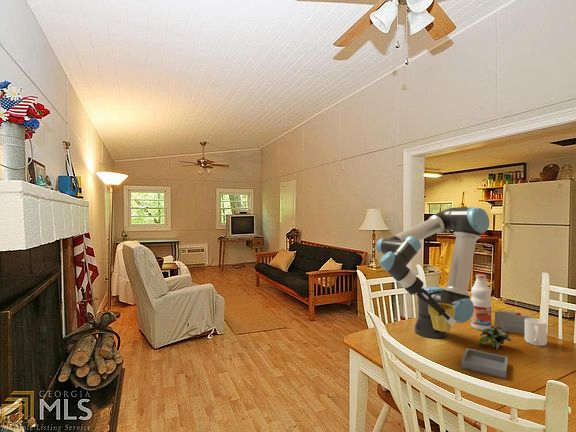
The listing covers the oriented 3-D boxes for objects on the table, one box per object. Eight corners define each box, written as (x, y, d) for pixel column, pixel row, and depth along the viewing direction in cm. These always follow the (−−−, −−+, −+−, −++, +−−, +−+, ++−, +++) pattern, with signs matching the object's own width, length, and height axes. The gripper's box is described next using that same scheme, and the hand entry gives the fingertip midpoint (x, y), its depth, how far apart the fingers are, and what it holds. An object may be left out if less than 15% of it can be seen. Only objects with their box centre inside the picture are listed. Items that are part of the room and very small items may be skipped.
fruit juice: (481, 324, 178) (482, 272, 178) (495, 330, 169) (495, 276, 169) (466, 325, 177) (466, 273, 176) (479, 331, 168) (479, 277, 167)
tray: (461, 368, 128) (461, 360, 128) (466, 355, 140) (466, 348, 140) (505, 379, 120) (505, 371, 120) (507, 364, 132) (507, 356, 131)
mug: (549, 350, 144) (549, 327, 144) (526, 346, 149) (526, 324, 148) (545, 341, 154) (545, 319, 154) (523, 338, 159) (523, 316, 159)
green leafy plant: (496, 356, 151) (513, 336, 150) (500, 361, 141) (518, 340, 140) (472, 338, 156) (489, 319, 155) (475, 342, 146) (492, 321, 145)
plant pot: (424, 324, 144) (424, 302, 144) (448, 324, 144) (448, 302, 144) (434, 333, 134) (434, 309, 134) (459, 333, 134) (459, 309, 134)
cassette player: (531, 333, 165) (531, 313, 165) (532, 335, 163) (532, 315, 162) (494, 328, 172) (494, 309, 172) (495, 330, 170) (495, 311, 169)
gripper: (397, 282, 152) (433, 316, 150) (411, 295, 129) (453, 335, 128) (409, 271, 151) (445, 305, 150) (425, 282, 128) (467, 322, 127)
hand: (448, 319), depth 139 cm, fingers closed on plant pot, 10 cm apart
